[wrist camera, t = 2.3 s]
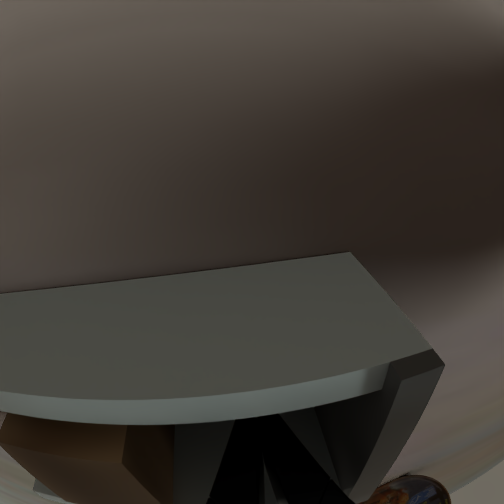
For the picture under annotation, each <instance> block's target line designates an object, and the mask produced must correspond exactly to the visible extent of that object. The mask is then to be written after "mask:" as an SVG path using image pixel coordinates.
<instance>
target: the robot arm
mask: <svg viewBox="0 0 504 504" xmlns="http://www.w3.org/2000/svg"><path fill="white" fill-rule="evenodd" d="M263 459H264V462H263ZM264 464H265V467H266V471H267V474H268V477H269V480H270V483H271V486H272V489H273V492H274V494H275V497H276V500H277V503H278V504H356V503H354V502H353V501H352V500H351V499H350V498H349V497H348V496H347V495H346V494H345V493H344V492H343V491H342V490H341V489H340V488H339V487H338V485H337V484H336V483H335V482H334V481H333V480H332V479H330V476H329V475H328V474H327V473H326V472H325V470H324V469H323V468H322V467H321V466H320V465H319V463H318V462H317V461H316V460H315V459H314V457H313V456H312V455H311V454H310V452H309V451H308V450H307V449H306V448H305V446H304V445H303V444H302V443H301V441H300V440H299V439H298V438H297V436H296V435H295V434H294V433H293V431H292V430H291V429H290V428H289V426H288V425H287V424H286V422H285V421H284V420H283V419H282V417H281V416H280V415H279V413H278V414H272V415H265V416H258V417H251V418H243V419H235V422H234V425H233V428H232V431H231V434H230V437H229V440H228V443H227V446H226V449H225V452H224V454H223V457H222V460H221V463H220V466H219V469H218V472H217V475H216V478H215V480H214V483H213V486H212V489H211V492H210V494H209V497H210V498H208V500H207V502H206V504H265V485H264Z"/></svg>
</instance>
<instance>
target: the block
mask: <svg viewBox="0 0 504 504" xmlns="http://www.w3.org/2000/svg"><path fill="white" fill-rule="evenodd" d="M174 435H175V424H167V425H117V424H96V423H82V422H70V421H61V420H52V419H45V418H37V417H31V416H25V415H19V414H13V413H7V415H6V417H5V420H4V422H3V424H2V427H1V429H0V446H1V447H2V448H3V449H4V450H5V451H6V452H7V453H8V454H9V455H10V456H11V457H12V458H14V459H15V460H16V461H17V462H18V463H19V464H20V465H21V466H22V467H23V468H25V469H26V470H27V471H28V472H29V473H30V474H31V475H33V476H34V477H35V478H36V479H37V480H39V481H40V482H41V483H42V484H44V485H45V486H46V487H47V488H49V489H50V490H51V491H53V492H54V493H55V494H56V495H58V496H59V497H61V498H62V499H63V500H65V501H66V502H71V503H75V504H173V463H174Z"/></svg>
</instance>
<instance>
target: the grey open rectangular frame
mask: <svg viewBox="0 0 504 504" xmlns="http://www.w3.org/2000/svg"><path fill="white" fill-rule="evenodd" d="M444 367H445V364H444V362H443V361H442V360H441V359H440V357H439V356H438V355H437V353H436V352H435V351H434V350H433V348H432V347H431V346H430V345H429V343H428V342H427V341H426V340H425V338H424V337H423V336H422V335H421V333H420V332H419V331H418V330H417V328H416V327H415V326H414V325H413V324H412V322H411V321H410V320H409V319H408V317H407V316H406V315H405V314H404V313H403V311H402V310H401V309H400V308H399V307H398V306H397V304H396V303H395V302H394V301H393V300H392V299H391V297H390V296H389V295H388V294H387V293H386V292H385V290H384V289H383V288H382V287H381V286H380V285H379V284H378V282H377V281H376V280H375V279H374V278H373V277H372V276H371V274H370V273H369V272H368V271H367V270H366V269H365V268H364V267H363V266H362V264H361V263H360V262H359V261H358V260H357V259H356V258H355V257H354V256H353V255H352V253H351V252H345V253H338V254H331V255H323V256H316V257H308V258H301V259H293V260H286V261H278V262H270V263H263V264H255V265H247V266H239V267H231V268H223V269H215V270H207V271H199V272H191V273H183V274H174V275H166V276H157V277H149V278H140V279H132V280H123V281H114V282H105V283H97V284H88V285H78V286H69V287H60V288H51V289H41V290H32V291H22V292H12V293H2V294H0V411H3V412H8V413H13V414H19V415H25V416H31V417H37V418H45V419H52V420H61V421H70V422H82V423H96V424H117V425H167V424H175V435H174V463H173V504H206V502H207V500H208V498H210V497H209V494H210V492H211V489H212V486H213V483H214V480H215V478H216V475H217V472H218V469H219V466H220V463H221V460H222V457H223V454H224V452H225V449H226V446H227V443H228V440H229V437H230V434H231V431H232V428H233V425H234V422H235V419H243V418H251V417H258V416H265V415H272V414H278V413H279V415H280V416H281V417H282V419H283V420H284V421H285V422H286V424H287V425H288V426H289V428H290V429H291V430H292V431H293V433H294V434H295V435H296V436H297V438H298V439H299V440H300V441H301V443H302V444H303V445H304V446H305V448H306V449H307V450H308V451H309V452H310V454H311V455H312V456H313V457H314V459H315V460H316V461H317V462H318V463H319V465H320V466H321V467H322V468H323V469H324V470H325V472H326V473H327V474H328V475H329V476H330V479H332V480H333V481H334V482H335V483H336V484H337V485H338V487H339V488H340V489H341V490H342V491H343V492H344V493H345V494H346V495H347V496H348V497H349V498H350V499H351V500H352V501H353V502H354V503H356V504H357V503H360V502H364V501H367V500H368V499H369V498H370V496H371V495H372V494H373V492H374V491H375V490H376V488H377V487H378V485H379V484H380V483H381V481H382V480H383V478H384V477H385V475H386V474H387V472H388V471H389V469H390V468H391V466H392V465H393V463H394V462H395V460H396V459H397V457H398V455H399V454H400V452H401V451H402V449H403V447H404V446H405V444H406V442H407V440H408V439H409V437H410V435H411V434H412V432H413V430H414V428H415V426H416V425H417V423H418V421H419V419H420V417H421V415H422V413H423V411H424V409H425V408H426V406H427V404H428V402H429V399H430V397H431V395H432V393H433V391H434V389H435V387H436V385H437V383H438V380H439V378H440V376H441V374H442V371H443V369H444ZM263 462H264V459H263ZM264 485H265V504H278V503H277V500H276V497H275V494H274V492H273V489H272V486H271V483H270V480H269V477H268V474H267V471H266V467H265V464H264ZM33 491H34V492H36V493H37V494H38V495H40V496H41V497H42V498H45V499H48V500H52V501H56V502H60V503H64V504H75V503H71V502H66V501H65V500H63V499H62V498H61V497H59V496H58V495H56V494H55V493H54V492H53V491H51V490H50V489H49V488H47V487H46V486H45V485H44V484H42V483H41V482H40V481H39V480H37V479H35V483H34V487H33Z"/></svg>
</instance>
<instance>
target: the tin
mask: <svg viewBox="0 0 504 504" xmlns="http://www.w3.org/2000/svg"><path fill="white" fill-rule="evenodd" d="M357 504H451V499H450V496H449V493H448V491H447V490H446V488H445V487H444V486H443V485H442V484H441V483H440V482H438V481H437V480H435V479H433V478H431V477H428V476H423V475H409V476H403V477H399V478H397V479H394V480H392V481H390V482H388V483H386V484H384V485H382V486H380V487H378V488H376V490H375V491H374V492H373V494H372V495H371V496H370V498H369V499H368V500H367V501H364V502H360V503H357Z"/></svg>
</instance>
